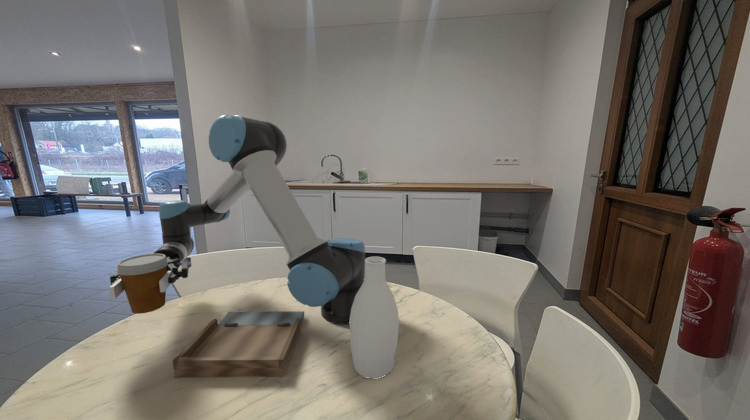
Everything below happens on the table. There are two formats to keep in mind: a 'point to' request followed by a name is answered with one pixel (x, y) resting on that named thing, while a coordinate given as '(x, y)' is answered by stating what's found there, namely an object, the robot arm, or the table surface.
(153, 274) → the disposable coffee cup
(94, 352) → the table surface
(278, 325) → the shallow wooden crate
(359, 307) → the bottle
